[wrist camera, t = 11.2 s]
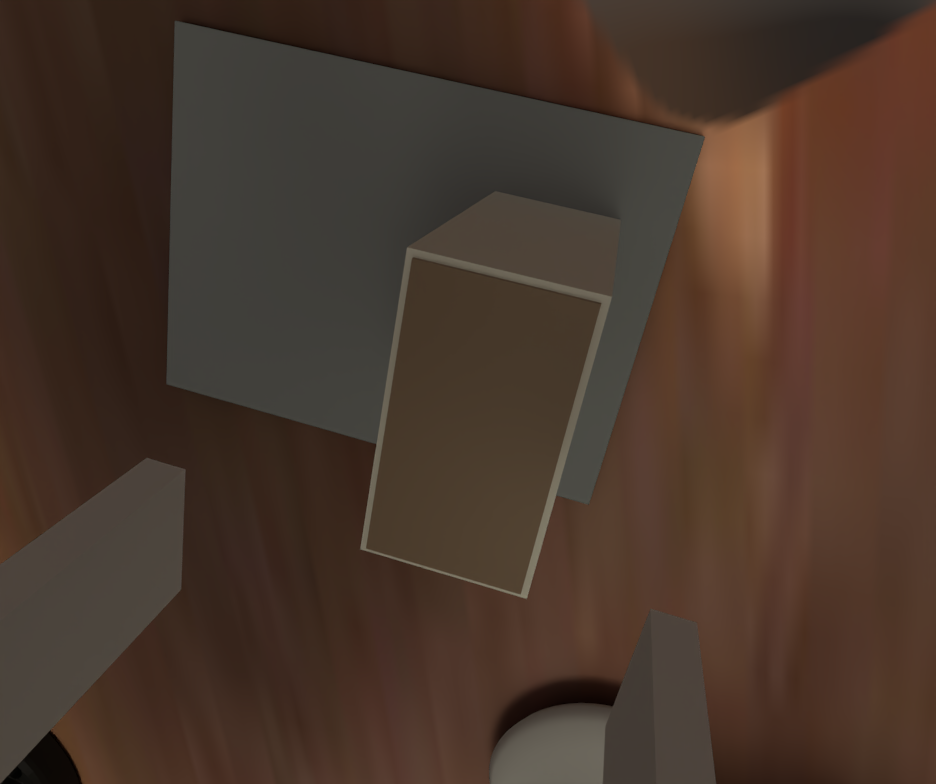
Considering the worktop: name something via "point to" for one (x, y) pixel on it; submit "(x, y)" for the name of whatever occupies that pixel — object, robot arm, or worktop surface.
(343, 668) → the worktop surface
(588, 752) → the flower in vase
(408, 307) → the block
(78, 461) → the worktop surface
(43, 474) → the worktop surface
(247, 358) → the mat
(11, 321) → the worktop surface
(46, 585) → the robot arm
